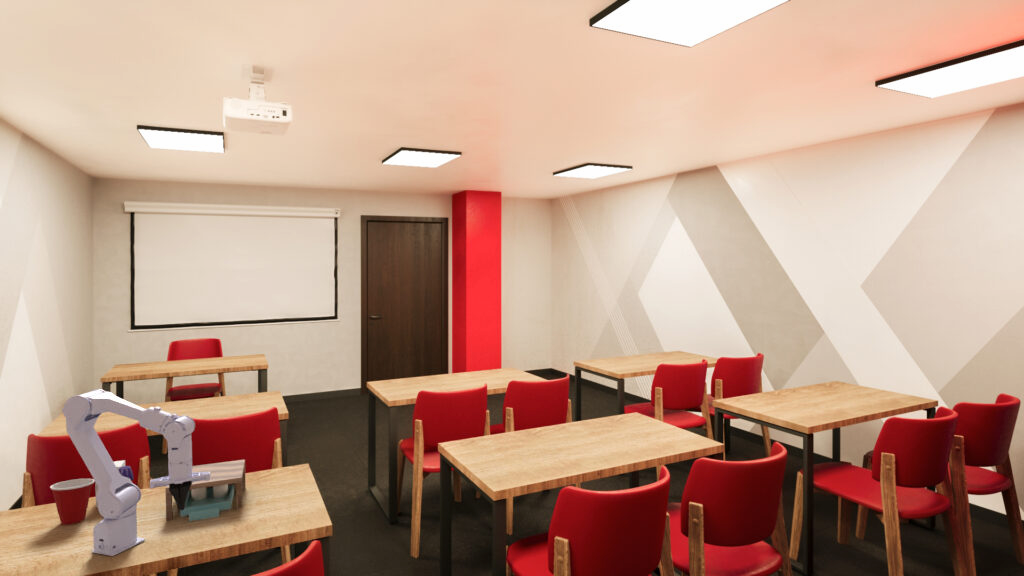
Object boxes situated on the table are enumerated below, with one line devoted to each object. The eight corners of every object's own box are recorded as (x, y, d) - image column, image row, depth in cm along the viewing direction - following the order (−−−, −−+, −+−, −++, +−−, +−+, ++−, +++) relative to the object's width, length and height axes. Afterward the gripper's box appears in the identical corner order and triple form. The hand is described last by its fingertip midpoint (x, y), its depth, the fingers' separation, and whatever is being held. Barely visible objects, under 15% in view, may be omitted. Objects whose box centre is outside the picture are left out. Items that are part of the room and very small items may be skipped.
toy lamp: (136, 516, 172) (135, 463, 172) (132, 523, 168) (130, 468, 167) (118, 519, 170) (117, 465, 170) (113, 525, 166) (112, 470, 166)
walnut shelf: (242, 508, 177) (241, 477, 177) (166, 520, 169) (165, 488, 169) (245, 487, 195) (244, 459, 195) (177, 497, 187) (176, 468, 187)
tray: (229, 515, 173) (228, 495, 173) (177, 523, 167) (177, 503, 167) (234, 491, 192) (234, 474, 192) (188, 498, 187) (187, 481, 186)
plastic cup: (104, 513, 175) (103, 476, 174) (74, 529, 164) (73, 489, 164) (73, 512, 176) (72, 475, 176) (41, 528, 165) (40, 488, 165)
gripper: (146, 469, 148) (147, 519, 148) (208, 461, 154) (209, 509, 154) (152, 461, 154) (153, 509, 155) (210, 454, 160) (211, 500, 160)
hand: (181, 509), depth 155 cm, fingers closed
